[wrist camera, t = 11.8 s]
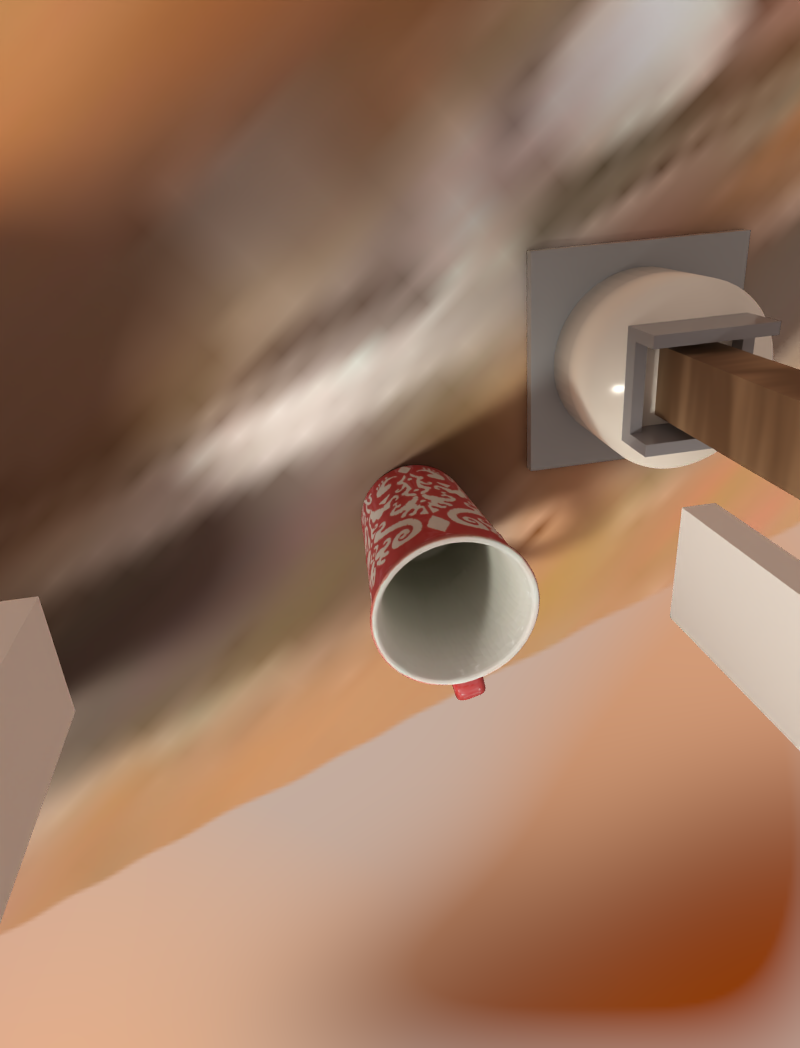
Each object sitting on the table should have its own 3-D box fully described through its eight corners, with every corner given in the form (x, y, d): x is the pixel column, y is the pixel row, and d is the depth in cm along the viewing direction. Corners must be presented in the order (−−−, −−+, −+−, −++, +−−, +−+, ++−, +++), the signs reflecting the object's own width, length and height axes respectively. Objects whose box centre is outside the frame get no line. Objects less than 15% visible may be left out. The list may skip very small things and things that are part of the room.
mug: (332, 467, 48) (353, 562, 35) (465, 435, 48) (531, 518, 36) (371, 624, 53) (401, 753, 41) (490, 594, 54) (554, 713, 42)
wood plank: (654, 414, 42) (834, 520, 29) (659, 345, 40) (853, 423, 27) (703, 408, 42) (903, 509, 29) (710, 339, 41) (926, 413, 27)
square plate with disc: (527, 467, 50) (582, 526, 41) (526, 250, 44) (591, 265, 35) (717, 441, 51) (810, 494, 43) (743, 229, 45) (856, 238, 37)
